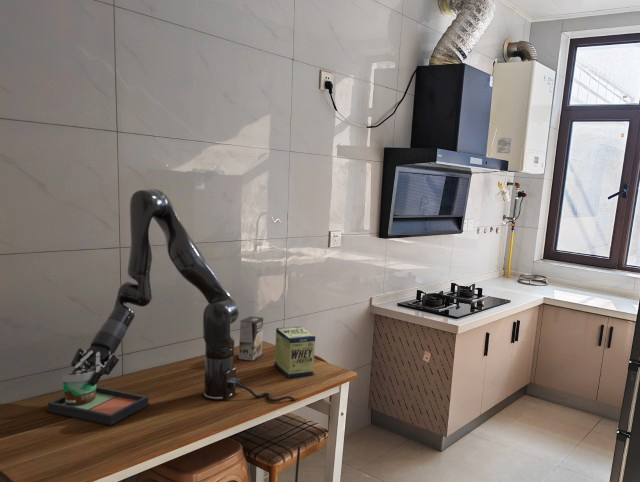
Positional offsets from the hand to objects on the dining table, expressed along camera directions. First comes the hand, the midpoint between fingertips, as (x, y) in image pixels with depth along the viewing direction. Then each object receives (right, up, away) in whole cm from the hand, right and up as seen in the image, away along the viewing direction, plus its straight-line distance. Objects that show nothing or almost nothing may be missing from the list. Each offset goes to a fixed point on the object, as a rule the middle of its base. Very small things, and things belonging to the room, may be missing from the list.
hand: (81, 383), depth 167 cm
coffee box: (+35, 0, +60) cm, 69 cm away
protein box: (+55, -4, +49) cm, 74 cm away
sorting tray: (+5, -8, +2) cm, 9 cm away
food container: (0, -6, +3) cm, 7 cm away
